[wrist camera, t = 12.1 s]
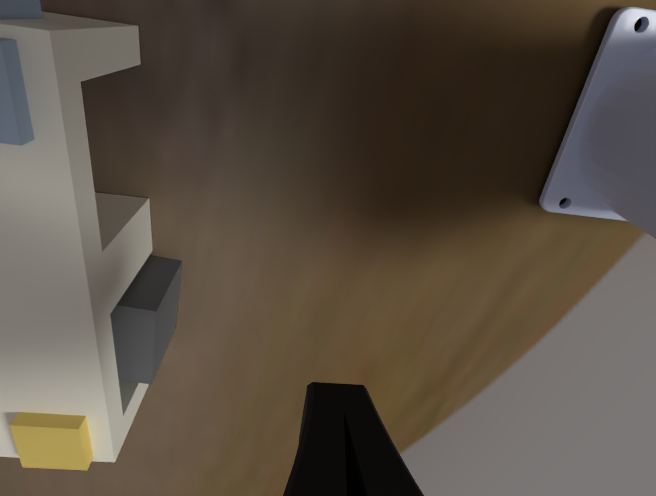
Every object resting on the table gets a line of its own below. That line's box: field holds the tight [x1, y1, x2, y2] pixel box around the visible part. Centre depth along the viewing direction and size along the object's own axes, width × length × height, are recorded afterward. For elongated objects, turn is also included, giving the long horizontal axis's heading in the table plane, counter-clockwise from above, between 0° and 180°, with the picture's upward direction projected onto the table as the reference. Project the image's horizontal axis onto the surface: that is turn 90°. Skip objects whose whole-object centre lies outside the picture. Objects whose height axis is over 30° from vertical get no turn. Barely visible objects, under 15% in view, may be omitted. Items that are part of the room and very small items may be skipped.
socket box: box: [0, 0, 153, 470], centre depth 16 cm, size 5×19×7 cm, turn 172°
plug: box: [110, 255, 182, 384], centre depth 19 cm, size 5×4×4 cm
